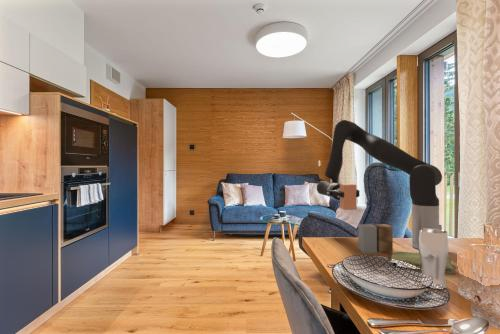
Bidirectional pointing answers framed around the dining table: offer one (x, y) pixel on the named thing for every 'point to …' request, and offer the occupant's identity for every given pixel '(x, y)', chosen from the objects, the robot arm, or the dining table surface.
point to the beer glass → (433, 253)
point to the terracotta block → (348, 197)
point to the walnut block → (384, 238)
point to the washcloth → (415, 260)
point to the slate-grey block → (367, 238)
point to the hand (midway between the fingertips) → (350, 194)
